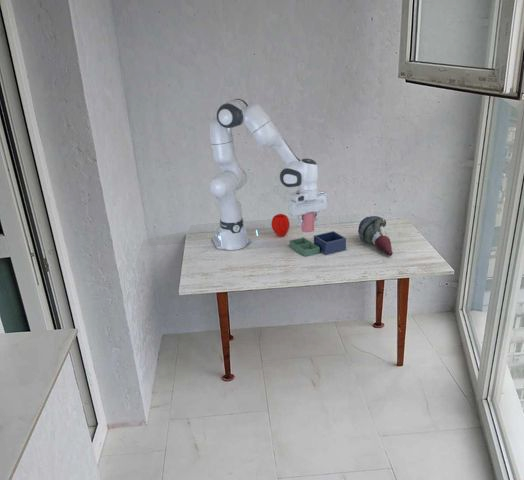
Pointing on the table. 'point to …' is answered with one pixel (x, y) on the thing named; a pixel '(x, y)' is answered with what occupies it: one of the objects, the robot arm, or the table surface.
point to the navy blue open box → (330, 242)
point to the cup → (308, 222)
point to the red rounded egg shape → (280, 224)
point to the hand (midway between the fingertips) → (308, 221)
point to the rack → (304, 246)
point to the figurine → (375, 233)
